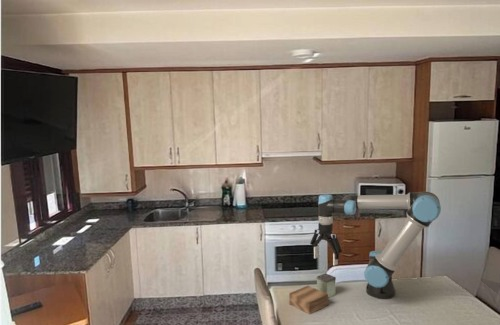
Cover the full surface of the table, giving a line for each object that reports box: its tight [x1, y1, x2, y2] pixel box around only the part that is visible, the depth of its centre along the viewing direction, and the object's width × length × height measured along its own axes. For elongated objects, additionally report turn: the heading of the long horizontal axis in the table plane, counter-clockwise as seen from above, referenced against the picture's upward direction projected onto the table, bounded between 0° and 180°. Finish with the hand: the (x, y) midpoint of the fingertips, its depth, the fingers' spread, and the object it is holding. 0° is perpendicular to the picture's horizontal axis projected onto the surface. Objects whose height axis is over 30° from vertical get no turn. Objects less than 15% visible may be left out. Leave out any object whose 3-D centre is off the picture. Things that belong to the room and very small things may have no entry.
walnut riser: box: [289, 285, 329, 315], centre depth 194 cm, size 14×14×6 cm
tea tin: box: [316, 273, 337, 299], centre depth 205 cm, size 7×7×10 cm
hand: (325, 261), depth 204 cm, fingers open, 13 cm apart
